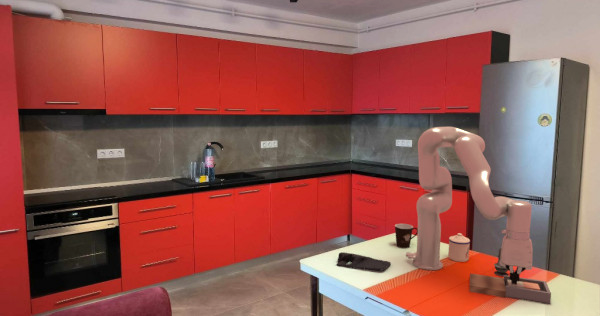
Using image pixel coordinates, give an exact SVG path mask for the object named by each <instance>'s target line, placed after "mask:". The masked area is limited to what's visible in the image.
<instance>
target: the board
mask: <svg viewBox="0 0 600 316" xmlns="http://www.w3.org/2000/svg"><path fill="white" fill-rule="evenodd" d="M469 292H470V293H476V294H481V295H482V294H483V295H487V296H493V297H494V296H495V297H499V298H500V297H501V298H507V297H506V288H505V283H504V277H497V276H490V275H483V274H477V273H469Z"/></svg>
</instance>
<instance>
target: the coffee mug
mask: <svg viewBox="0 0 600 316" xmlns="http://www.w3.org/2000/svg"><path fill="white" fill-rule="evenodd" d="M413 230H416V233H415V234H414V235H412V234H413ZM394 231H395V242H396V247H397V248H399V249H400V248H401V249H408V248H410V246H411V242H412V239H414V238H415V237H416V236H417V235H418V227H414V226H413V225H412V224H407V223H396V224H394Z"/></svg>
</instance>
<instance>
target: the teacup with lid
mask: <svg viewBox="0 0 600 316" xmlns="http://www.w3.org/2000/svg"><path fill="white" fill-rule="evenodd" d="M470 243H471V240H470V239H469V237H465V236H464V235H463V234H462V233H460V232H459V233H457V235H455V234H454V235H451V236H449V238H448V258H449V259H450V260H452V261H454V262H459V263H460V262H463V263H464V262H467V261H469V259H470V245H471V244H470Z"/></svg>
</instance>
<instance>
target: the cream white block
mask: <svg viewBox="0 0 600 316" xmlns="http://www.w3.org/2000/svg"><path fill="white" fill-rule="evenodd" d="M507 286H513V287H519V288H524V285H523V282H521V281H519V282H518V281H517V284H515V283H514V284H512V282H511V280H507Z"/></svg>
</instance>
